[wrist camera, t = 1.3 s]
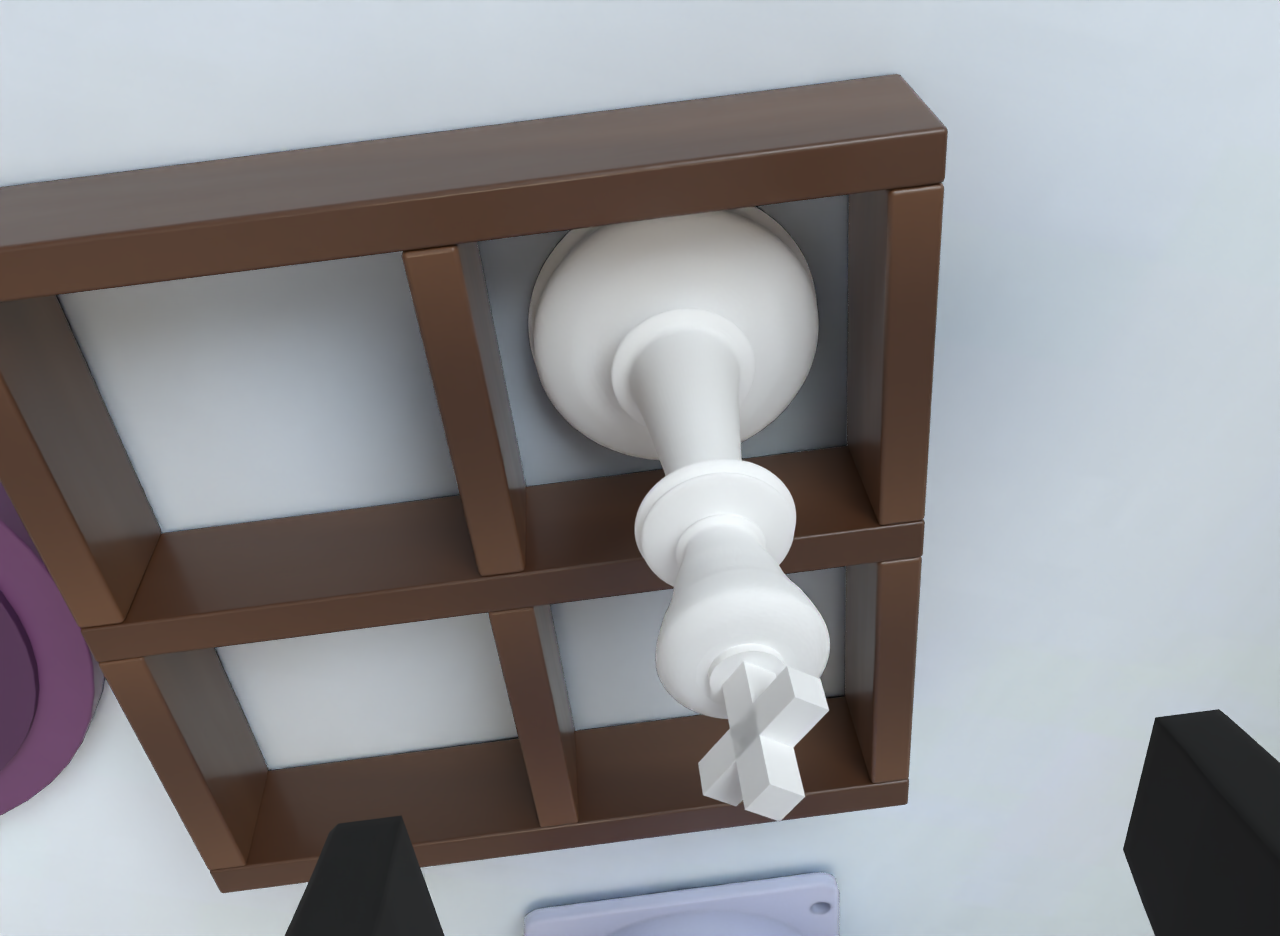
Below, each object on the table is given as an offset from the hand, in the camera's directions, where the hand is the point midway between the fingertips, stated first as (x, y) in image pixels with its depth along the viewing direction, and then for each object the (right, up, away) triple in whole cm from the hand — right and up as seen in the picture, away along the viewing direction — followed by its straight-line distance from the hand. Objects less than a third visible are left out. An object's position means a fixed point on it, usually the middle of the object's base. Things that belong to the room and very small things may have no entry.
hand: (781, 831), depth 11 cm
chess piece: (-1, +6, +9) cm, 10 cm away
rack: (-4, +3, +10) cm, 11 cm away
